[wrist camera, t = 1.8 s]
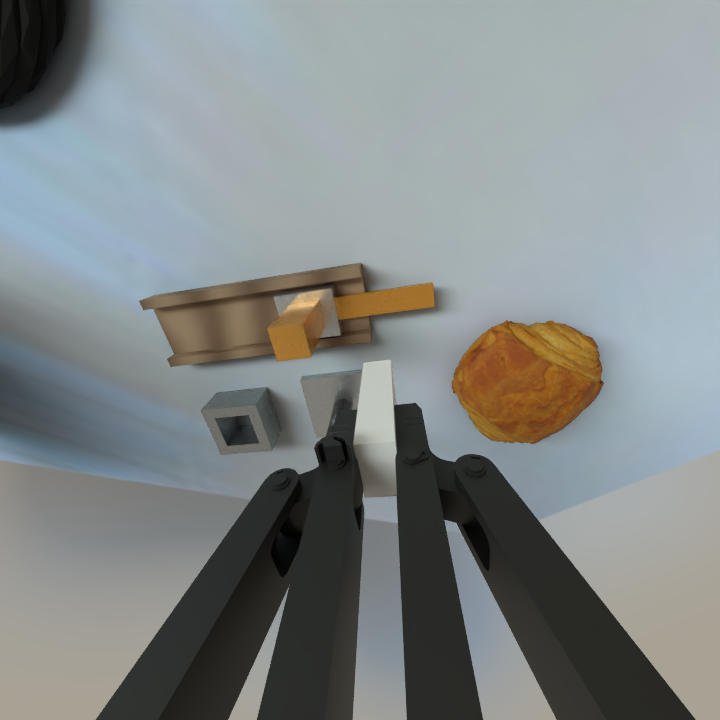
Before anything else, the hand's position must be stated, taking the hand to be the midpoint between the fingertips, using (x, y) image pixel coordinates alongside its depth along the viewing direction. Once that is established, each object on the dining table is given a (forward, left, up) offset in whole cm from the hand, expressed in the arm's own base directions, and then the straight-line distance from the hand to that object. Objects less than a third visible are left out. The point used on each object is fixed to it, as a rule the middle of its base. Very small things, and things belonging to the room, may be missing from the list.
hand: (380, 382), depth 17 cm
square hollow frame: (-20, -13, -18) cm, 30 cm away
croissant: (+14, -11, -19) cm, 26 cm away
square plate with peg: (-7, -13, -18) cm, 23 cm away
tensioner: (-3, 0, -17) cm, 17 cm away
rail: (-14, 0, -18) cm, 23 cm away
